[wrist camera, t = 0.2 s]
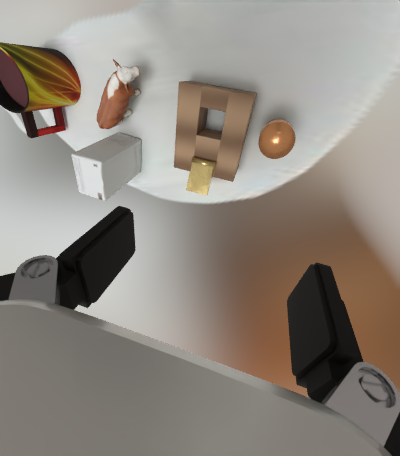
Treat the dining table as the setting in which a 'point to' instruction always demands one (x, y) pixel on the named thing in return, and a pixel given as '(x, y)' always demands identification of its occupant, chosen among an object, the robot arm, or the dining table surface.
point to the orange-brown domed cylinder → (276, 139)
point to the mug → (37, 84)
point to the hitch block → (205, 138)
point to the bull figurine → (117, 97)
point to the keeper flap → (200, 175)
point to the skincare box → (107, 165)
